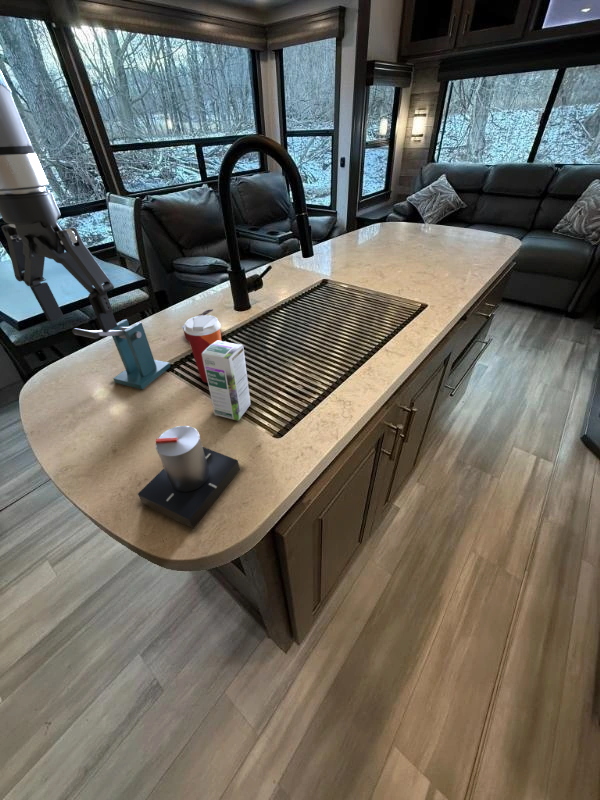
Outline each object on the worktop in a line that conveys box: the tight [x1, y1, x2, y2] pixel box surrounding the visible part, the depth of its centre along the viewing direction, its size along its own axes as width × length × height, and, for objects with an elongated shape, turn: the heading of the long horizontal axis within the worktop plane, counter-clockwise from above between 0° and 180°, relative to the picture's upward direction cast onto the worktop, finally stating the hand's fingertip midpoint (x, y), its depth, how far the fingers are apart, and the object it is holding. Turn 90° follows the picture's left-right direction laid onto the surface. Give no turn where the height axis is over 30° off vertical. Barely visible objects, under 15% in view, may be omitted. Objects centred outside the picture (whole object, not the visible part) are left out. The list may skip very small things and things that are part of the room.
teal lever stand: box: [111, 319, 171, 390], centre depth 75 cm, size 10×8×13 cm
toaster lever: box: [72, 327, 129, 340], centre depth 68 cm, size 12×6×2 cm, turn 160°
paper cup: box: [183, 314, 222, 384], centre depth 74 cm, size 8×8×14 cm
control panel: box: [137, 446, 241, 530], centre depth 53 cm, size 12×10×3 cm
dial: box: [155, 425, 209, 492], centre depth 49 cm, size 6×6×8 cm
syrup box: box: [202, 340, 251, 422], centre depth 64 cm, size 6×6×14 cm
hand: (82, 323), depth 62 cm, fingers open, 13 cm apart
